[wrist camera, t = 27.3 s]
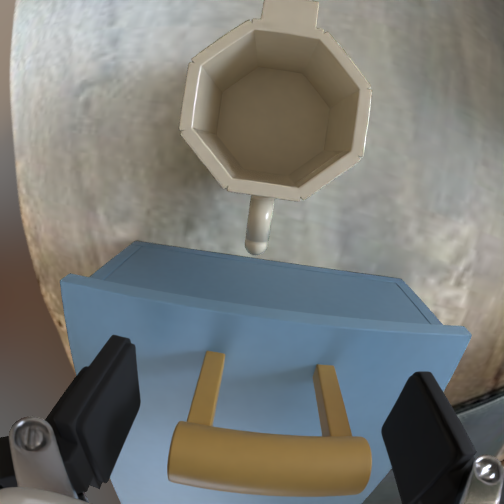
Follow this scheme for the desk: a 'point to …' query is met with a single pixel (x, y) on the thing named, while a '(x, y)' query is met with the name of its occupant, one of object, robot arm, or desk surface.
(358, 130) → the jug
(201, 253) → the chest
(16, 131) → the desk surface
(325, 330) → the lid
